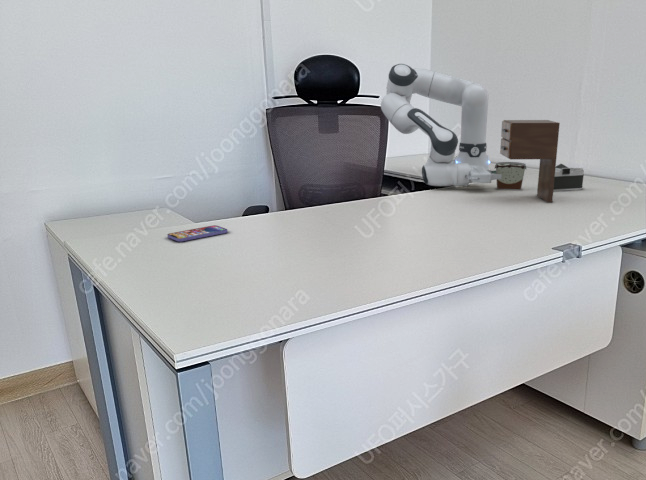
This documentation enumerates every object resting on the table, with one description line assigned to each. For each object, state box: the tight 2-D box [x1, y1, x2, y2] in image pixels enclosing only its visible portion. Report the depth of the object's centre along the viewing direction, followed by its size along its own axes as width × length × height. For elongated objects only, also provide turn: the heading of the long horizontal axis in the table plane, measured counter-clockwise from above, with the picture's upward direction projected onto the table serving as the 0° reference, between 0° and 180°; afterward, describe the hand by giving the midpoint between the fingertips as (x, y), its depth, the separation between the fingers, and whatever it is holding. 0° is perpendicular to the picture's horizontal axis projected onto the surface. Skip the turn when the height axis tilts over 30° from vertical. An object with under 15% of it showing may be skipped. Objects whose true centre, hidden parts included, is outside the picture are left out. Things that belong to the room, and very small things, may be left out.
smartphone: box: [166, 224, 228, 242], centre depth 164 cm, size 1×7×15 cm
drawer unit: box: [499, 119, 561, 204], centre depth 210 cm, size 14×17×27 cm
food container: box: [493, 161, 527, 191], centre depth 233 cm, size 12×6×10 cm, turn 84°
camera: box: [553, 163, 585, 192], centre depth 232 cm, size 16×9×10 cm, turn 108°
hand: (498, 174), depth 233 cm, fingers open, 8 cm apart
